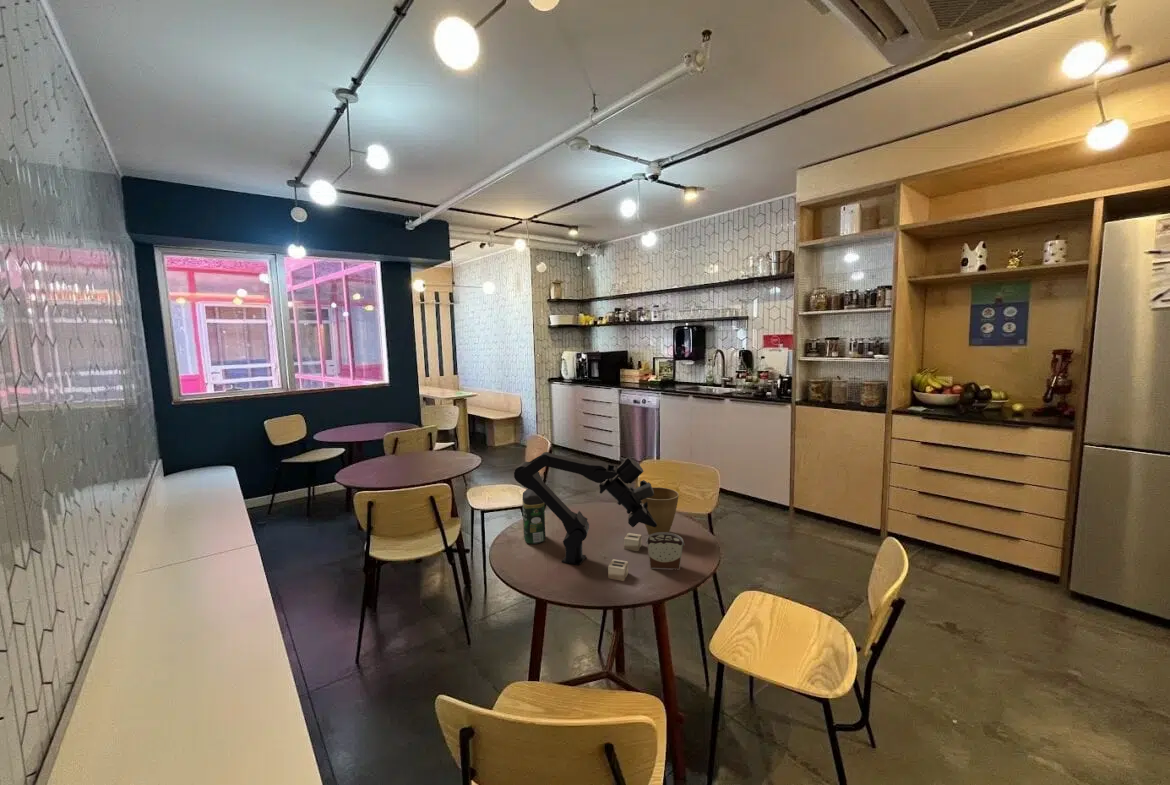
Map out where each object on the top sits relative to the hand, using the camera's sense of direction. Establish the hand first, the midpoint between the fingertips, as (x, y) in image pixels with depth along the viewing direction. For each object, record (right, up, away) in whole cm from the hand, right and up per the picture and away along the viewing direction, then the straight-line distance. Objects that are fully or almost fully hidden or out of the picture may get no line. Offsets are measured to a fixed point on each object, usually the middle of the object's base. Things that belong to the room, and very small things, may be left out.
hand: (656, 526), depth 153 cm
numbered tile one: (-6, -12, +14) cm, 19 cm away
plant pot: (+5, -10, +25) cm, 27 cm away
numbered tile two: (-13, -14, -6) cm, 20 cm away
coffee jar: (-42, -11, +22) cm, 48 cm away
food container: (+3, -13, +1) cm, 13 cm away
